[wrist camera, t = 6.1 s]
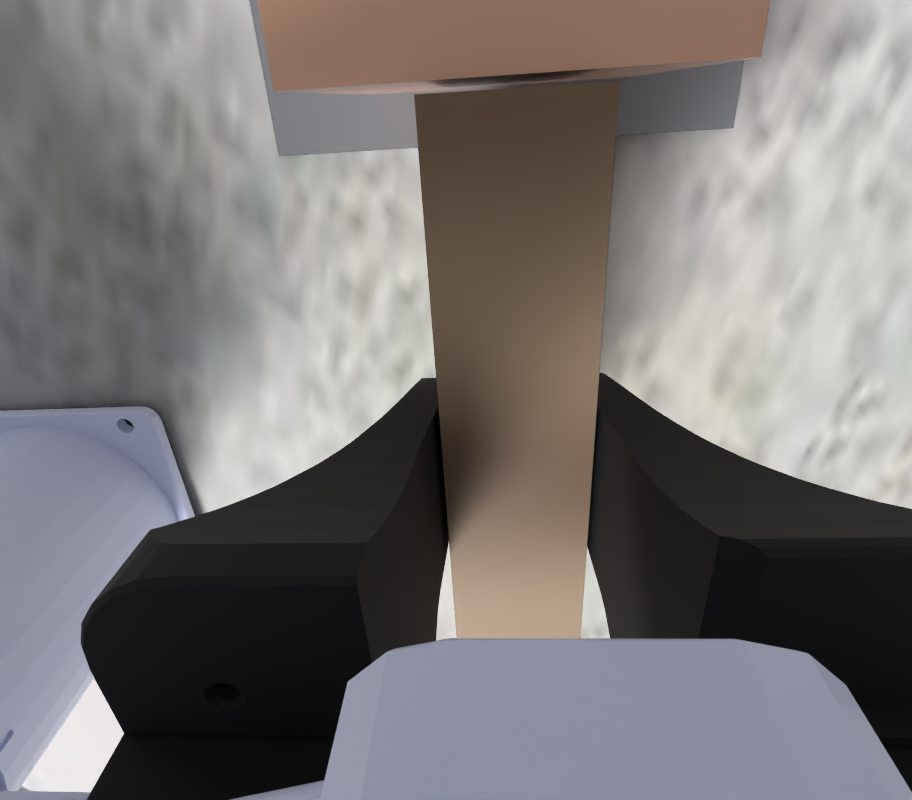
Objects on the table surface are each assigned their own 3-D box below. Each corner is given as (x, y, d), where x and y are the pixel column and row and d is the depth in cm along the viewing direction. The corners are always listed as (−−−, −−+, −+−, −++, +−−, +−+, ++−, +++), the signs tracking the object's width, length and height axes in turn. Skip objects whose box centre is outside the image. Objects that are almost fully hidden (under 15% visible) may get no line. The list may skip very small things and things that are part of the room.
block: (371, 94, 13) (274, 91, 7) (361, 5, 13) (241, -85, 6) (629, 77, 13) (760, 57, 7) (636, -17, 12) (792, -136, 6)
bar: (551, 555, 17) (574, 720, 12) (469, 555, 17) (463, 719, 12) (566, 87, 11) (619, 82, 7) (442, 96, 11) (413, 93, 7)
